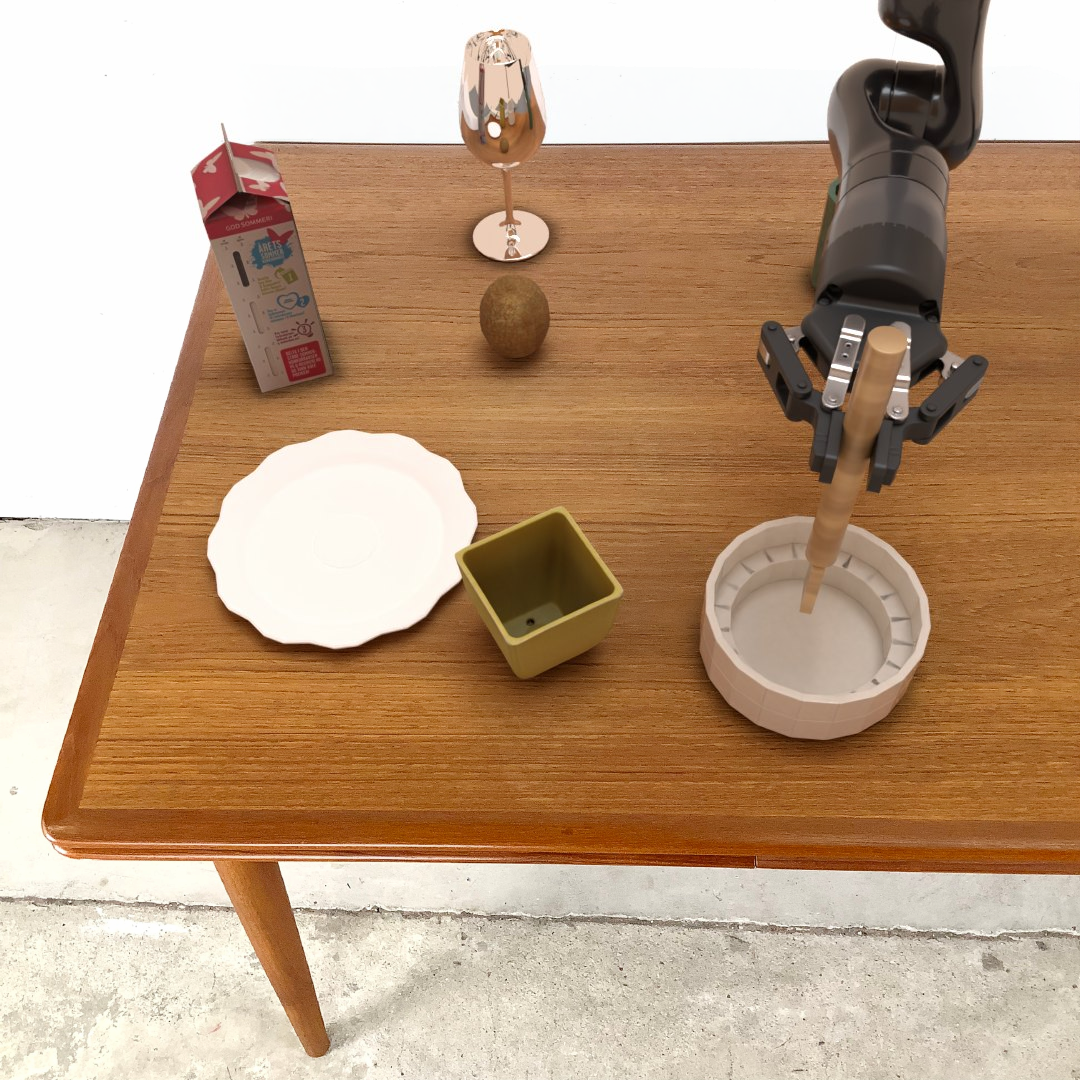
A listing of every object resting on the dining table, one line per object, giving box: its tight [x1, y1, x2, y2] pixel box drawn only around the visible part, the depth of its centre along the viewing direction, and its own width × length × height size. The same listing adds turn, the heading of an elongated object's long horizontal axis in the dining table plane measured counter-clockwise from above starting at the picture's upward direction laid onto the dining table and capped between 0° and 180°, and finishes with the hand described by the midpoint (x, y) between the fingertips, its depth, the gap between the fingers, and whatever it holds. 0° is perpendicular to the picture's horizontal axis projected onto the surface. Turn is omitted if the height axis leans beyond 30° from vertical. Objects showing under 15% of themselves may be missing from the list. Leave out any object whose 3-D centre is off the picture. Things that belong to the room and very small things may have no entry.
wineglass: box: [458, 28, 550, 263], centre depth 102 cm, size 8×8×20 cm
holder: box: [810, 176, 840, 291], centre depth 101 cm, size 5×5×10 cm
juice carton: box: [190, 122, 336, 393], centre depth 93 cm, size 7×7×22 cm
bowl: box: [699, 515, 932, 741], centre depth 80 cm, size 15×15×6 cm
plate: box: [206, 429, 479, 650], centre depth 89 cm, size 21×21×2 cm
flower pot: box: [455, 505, 624, 680], centre depth 80 cm, size 9×9×9 cm
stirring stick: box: [799, 326, 908, 614], centre depth 66 cm, size 3×2×24 cm
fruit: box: [479, 273, 551, 359], centre depth 98 cm, size 6×6×8 cm
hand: (852, 478), depth 61 cm, fingers closed on stirring stick, 2 cm apart
